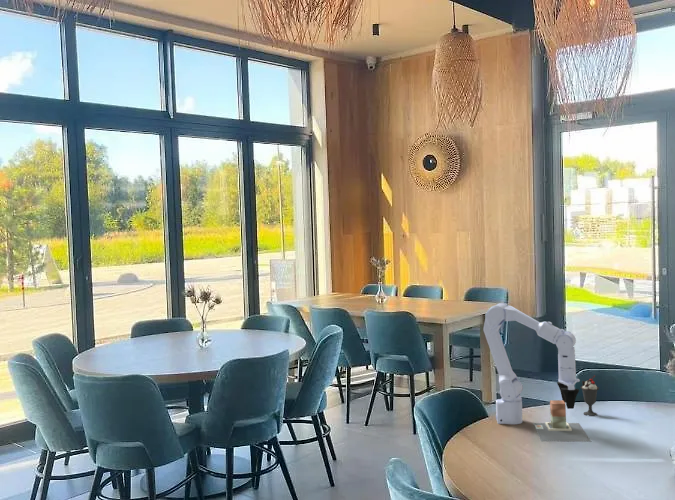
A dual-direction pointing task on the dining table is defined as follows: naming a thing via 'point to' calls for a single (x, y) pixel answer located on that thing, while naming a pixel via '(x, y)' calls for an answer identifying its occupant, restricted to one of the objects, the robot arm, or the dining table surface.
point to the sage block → (558, 422)
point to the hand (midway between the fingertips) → (568, 405)
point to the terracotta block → (557, 408)
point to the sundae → (589, 395)
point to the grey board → (561, 433)
